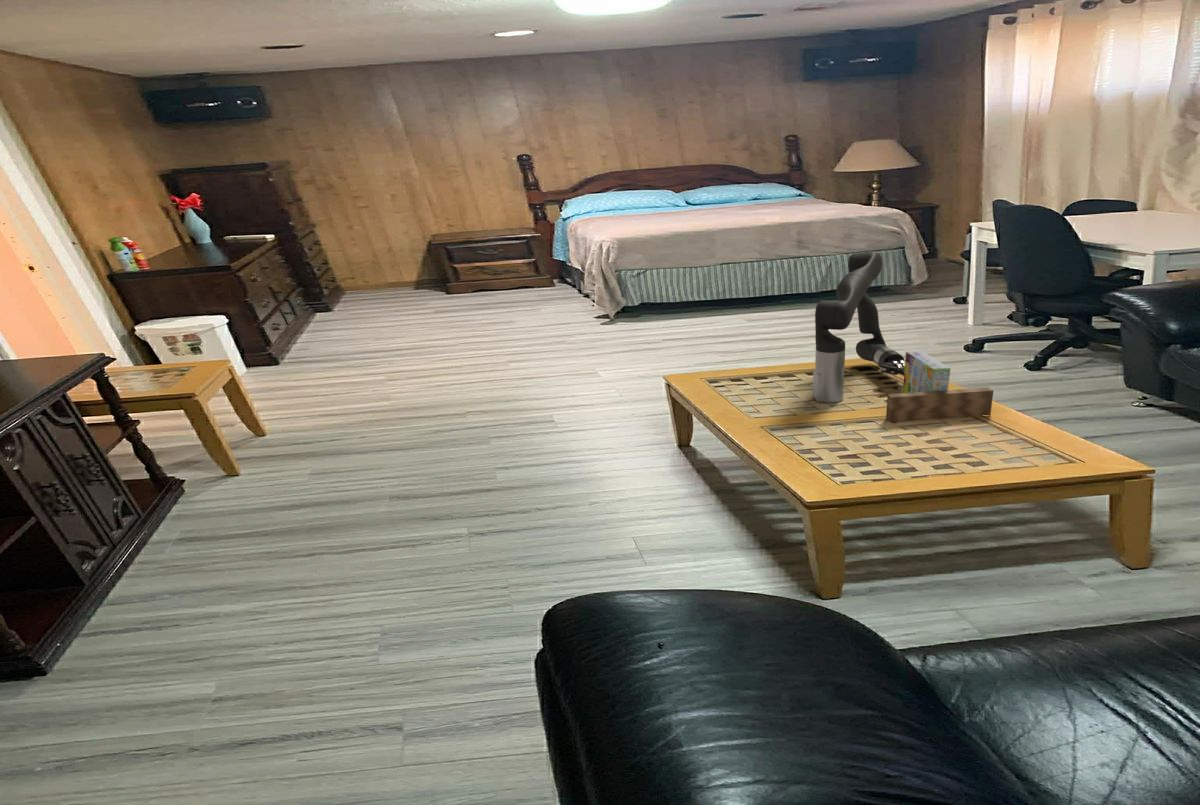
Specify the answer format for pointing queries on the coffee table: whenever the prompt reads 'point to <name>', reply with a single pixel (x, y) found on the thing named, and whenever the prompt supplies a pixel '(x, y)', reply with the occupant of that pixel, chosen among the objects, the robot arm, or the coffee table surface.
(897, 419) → the board
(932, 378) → the snack box
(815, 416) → the coffee table surface
